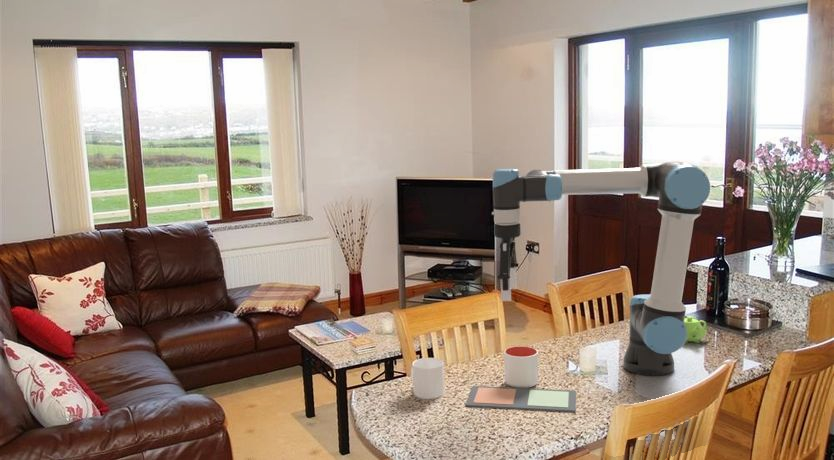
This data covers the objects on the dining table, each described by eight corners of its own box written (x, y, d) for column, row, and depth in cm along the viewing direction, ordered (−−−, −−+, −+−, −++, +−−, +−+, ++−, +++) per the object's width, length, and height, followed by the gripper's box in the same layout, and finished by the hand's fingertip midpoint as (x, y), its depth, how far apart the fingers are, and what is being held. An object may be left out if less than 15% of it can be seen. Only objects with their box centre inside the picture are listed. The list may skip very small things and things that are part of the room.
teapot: (712, 339, 251) (713, 316, 250) (697, 348, 243) (697, 323, 242) (681, 333, 259) (682, 310, 258) (665, 341, 251) (666, 317, 250)
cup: (537, 390, 213) (537, 357, 211) (503, 389, 215) (502, 356, 213) (538, 377, 223) (538, 346, 221) (506, 376, 225) (505, 345, 223)
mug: (450, 394, 212) (449, 364, 211) (423, 402, 208) (422, 370, 206) (429, 382, 222) (427, 353, 221) (403, 388, 218) (401, 359, 216)
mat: (575, 392, 210) (575, 390, 210) (575, 412, 197) (575, 409, 197) (472, 387, 217) (472, 385, 217) (465, 406, 204) (465, 404, 204)
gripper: (500, 216, 222) (502, 284, 226) (487, 230, 199) (490, 306, 202) (524, 216, 221) (526, 284, 224) (515, 230, 197) (517, 306, 200)
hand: (509, 294), depth 213 cm, fingers open, 13 cm apart
